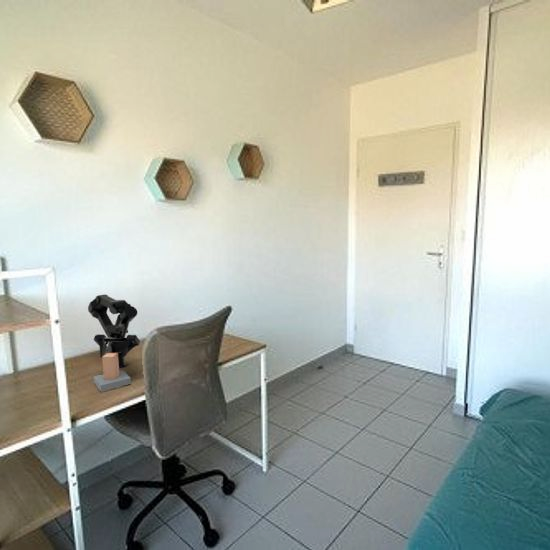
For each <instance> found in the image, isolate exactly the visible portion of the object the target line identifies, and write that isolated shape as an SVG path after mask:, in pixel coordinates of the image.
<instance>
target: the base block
mask: <svg viewBox="0 0 550 550" xmlns="http://www.w3.org/2000/svg"><path fill="white" fill-rule="evenodd" d="M131 378H132V377H130V376H129V375H128V374H127V373H126V372H125V371H124V370H123V369H119V376H118V377H117V378H116V379H104V373H102V374H98V375H93V384H94V385H95V386H96V388H97V389H98V390H99V392H100V391H101V392H100V393H105V392H108V391H107V390H109V391H111V390H110V389H113V388H116V389H119V388H118V387H120V388H122V387H121V386H124V385H127V384H131V385H132V380H131ZM124 387H125V386H124ZM113 390H114V389H113ZM104 391H105V392H104Z"/></svg>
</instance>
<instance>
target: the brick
mask: <svg viewBox="0 0 550 550" xmlns="http://www.w3.org/2000/svg"><path fill="white" fill-rule="evenodd" d="M101 360H102V371H103V373H102V374H104V379H116V378H117V377H118V376H119V370H120V368H119V362H118V353H106V354H104V356H103V357H102V358H101Z"/></svg>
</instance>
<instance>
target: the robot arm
mask: <svg viewBox="0 0 550 550" xmlns="http://www.w3.org/2000/svg"><path fill="white" fill-rule="evenodd" d="M87 309H88V310H87V311H88V313H89V314H90V315H91V317H92V318H94V319H97V320H98V322H99V324H100V325H101V327H102V329H103V332H104V333H105V334H95V336H93V337H94V338H93V341H94V342H95V343H96V344H97V345H98V346H99V355H100V356H99V357H100V358H101V359H102V357H103V356H104V355H105V353H106V354H107V353H118V362H119V369H120V368H124V367H127V366H128V364H127V363H126V361H125V357H126V355H127V354H128V353H130V352H131V351H132V350H133V349H134V348H137V347H138V346H139V345H140V342H141V341H140V339H139V337H138V336H137V335H136V334H129V331H128V328H129V324H130V323H131V322H132V321H133V320H134V319H135V318H136V317H137V315H138V310H137V308H135V307H134V306H133V305H131V303H128V302H127V301H126V300H125V299H115V298H113V297H110V296H109V295H108V294H98V295H96V296H95V298H94V299H93V300H91V301H90V302H89V303H88V307H87ZM108 311H109V313H111V314H112V315H117V318H116V320H115V324H114V323H113V322H112V320H111V319H110V316H109V314H108Z"/></svg>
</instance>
